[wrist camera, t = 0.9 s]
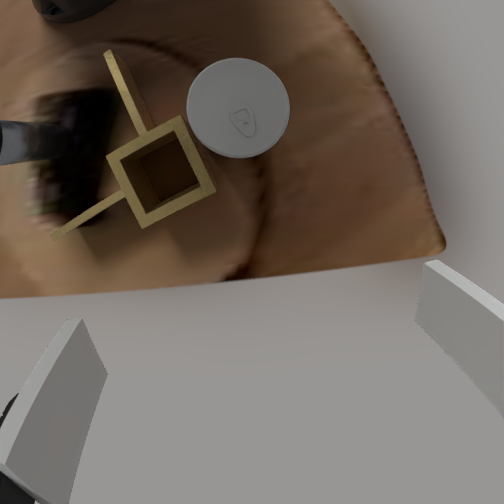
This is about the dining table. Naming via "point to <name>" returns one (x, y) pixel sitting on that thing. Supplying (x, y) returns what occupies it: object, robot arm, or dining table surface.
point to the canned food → (238, 108)
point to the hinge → (128, 155)
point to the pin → (32, 141)
